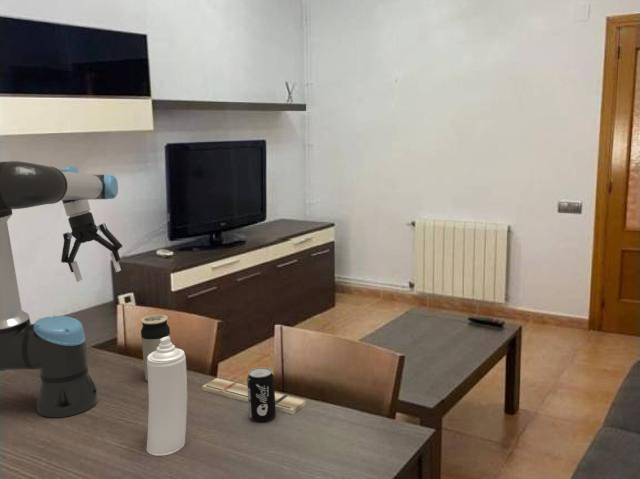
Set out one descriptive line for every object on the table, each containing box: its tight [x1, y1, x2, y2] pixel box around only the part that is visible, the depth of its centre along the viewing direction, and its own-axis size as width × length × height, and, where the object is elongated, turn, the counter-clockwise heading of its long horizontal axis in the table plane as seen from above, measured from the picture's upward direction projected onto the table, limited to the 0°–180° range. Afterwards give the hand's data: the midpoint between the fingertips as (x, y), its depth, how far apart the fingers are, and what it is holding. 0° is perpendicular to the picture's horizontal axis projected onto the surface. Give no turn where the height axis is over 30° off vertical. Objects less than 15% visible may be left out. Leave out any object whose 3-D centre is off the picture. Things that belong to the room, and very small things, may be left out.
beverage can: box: [246, 366, 277, 423], centre depth 153 cm, size 7×7×12 cm
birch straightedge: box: [201, 377, 307, 415], centre depth 165 cm, size 6×30×1 cm, turn 58°
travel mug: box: [140, 314, 172, 382], centre depth 178 cm, size 8×8×18 cm
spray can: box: [146, 336, 188, 457], centre depth 141 cm, size 12×11×25 cm
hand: (99, 276), depth 204 cm, fingers open, 13 cm apart
